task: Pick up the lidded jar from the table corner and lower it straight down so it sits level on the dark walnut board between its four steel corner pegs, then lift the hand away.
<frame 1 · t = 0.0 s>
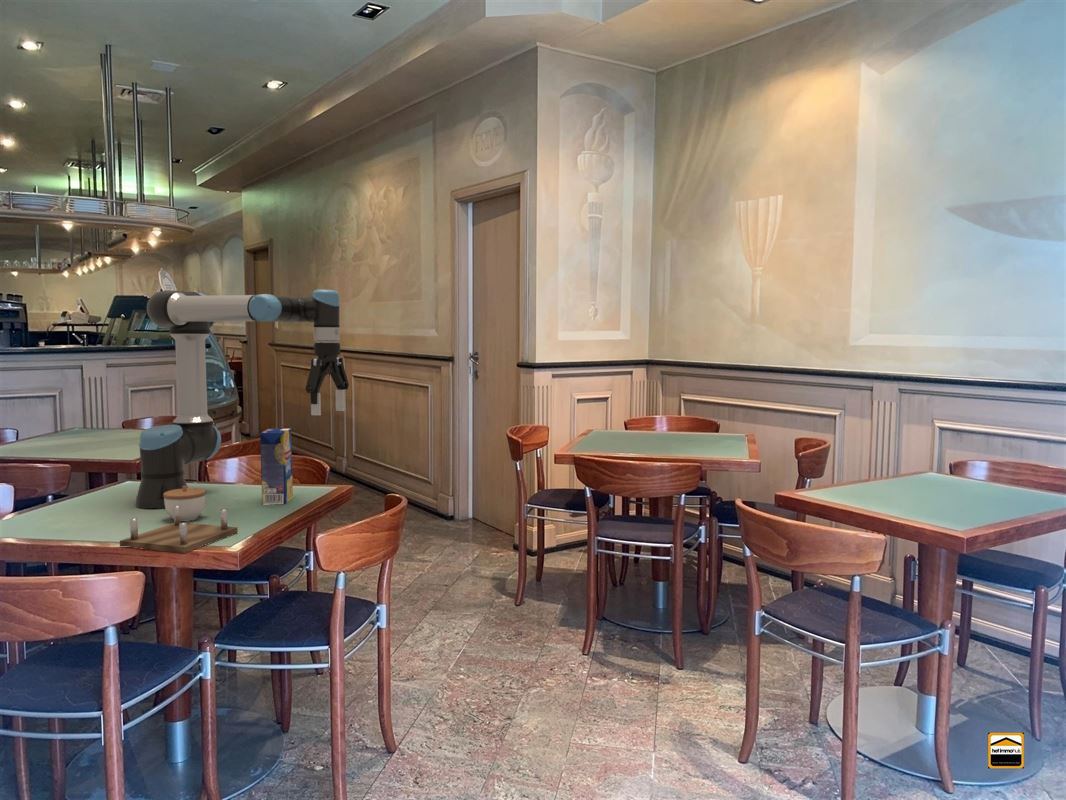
hand: (328, 413, 226), 28 cm above the table, tool pointing down, fingers open, 13 cm apart
corner pegs: (180, 524, 188), on the peg board, point 4 cm above the table
lidded jar: (185, 519, 210), on the table
peg board: (180, 539, 189), on the table
beverage box: (277, 501, 233), on the table
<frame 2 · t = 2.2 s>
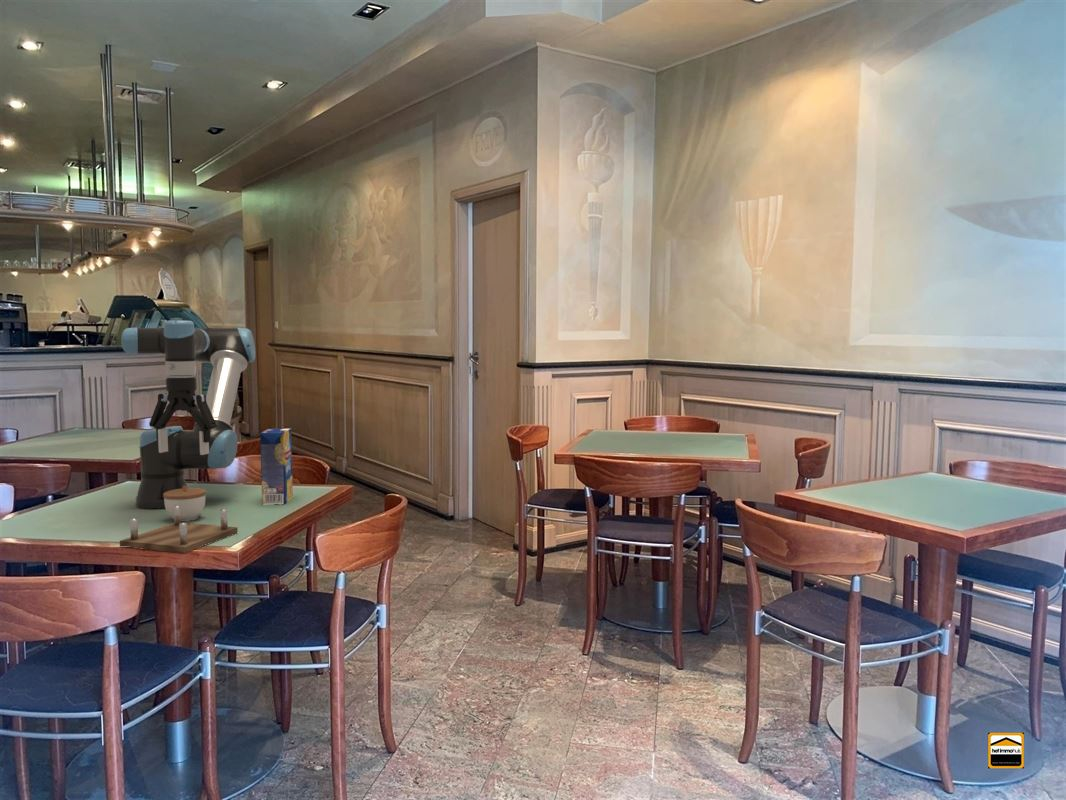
hand: (183, 453, 208), 19 cm above the table, tool pointing down, fingers open, 13 cm apart
nothing on the table moved.
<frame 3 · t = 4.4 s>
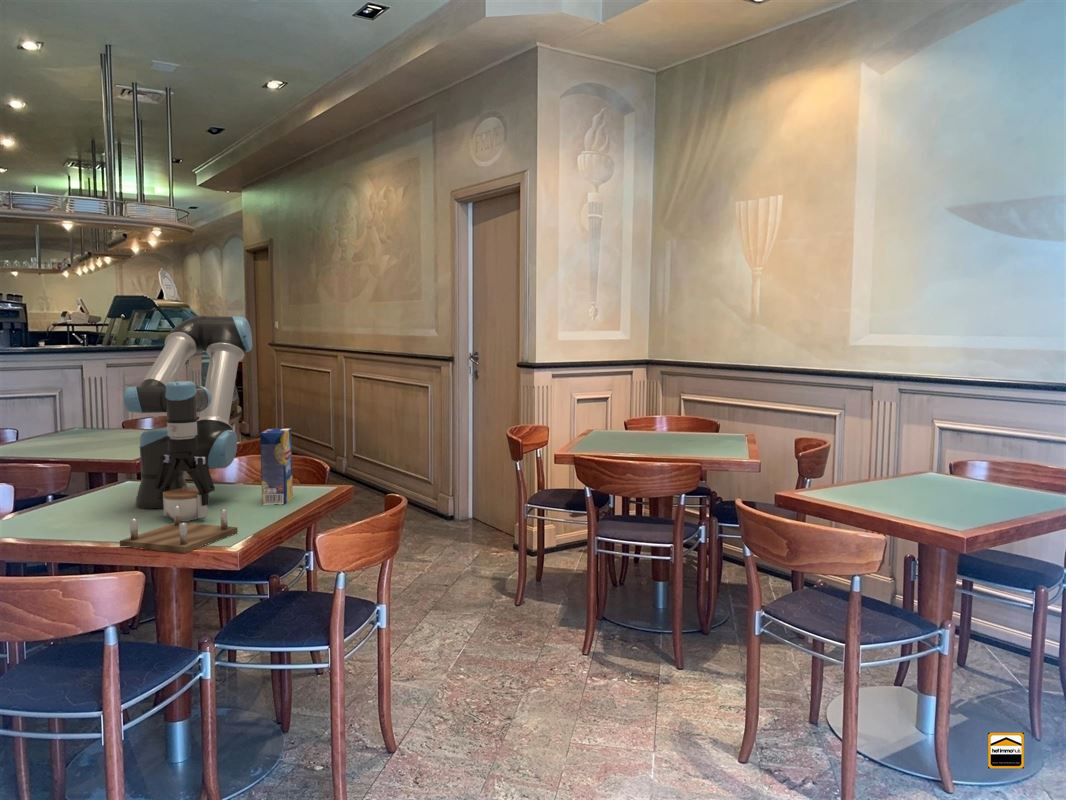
hand: (185, 515, 210), 1 cm above the table, tool pointing down, fingers closed on lidded jar, 11 cm apart
lidded jar: (185, 519, 210), on the table, touching gripper
everything else where it was.
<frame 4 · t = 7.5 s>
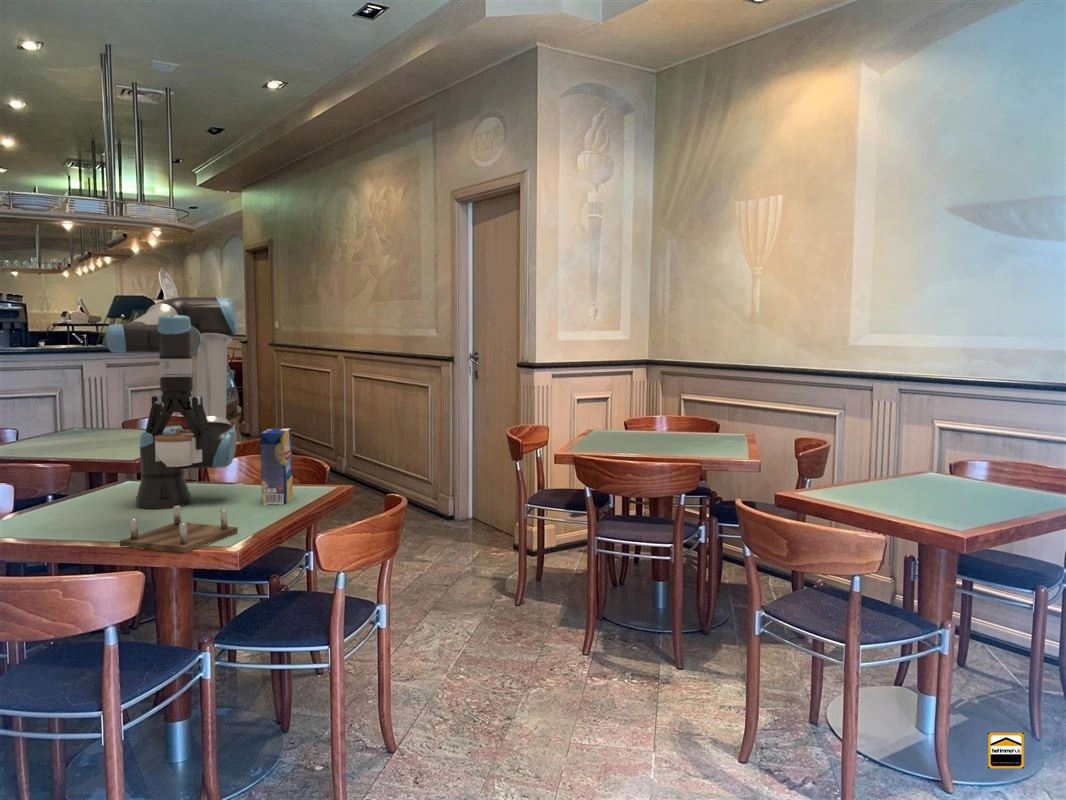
hand: (178, 461, 193), 19 cm above the table, tool pointing down, fingers closed on lidded jar, 11 cm apart
lidded jar: (179, 466, 193), point 18 cm above the table, touching gripper
everything else where it was.
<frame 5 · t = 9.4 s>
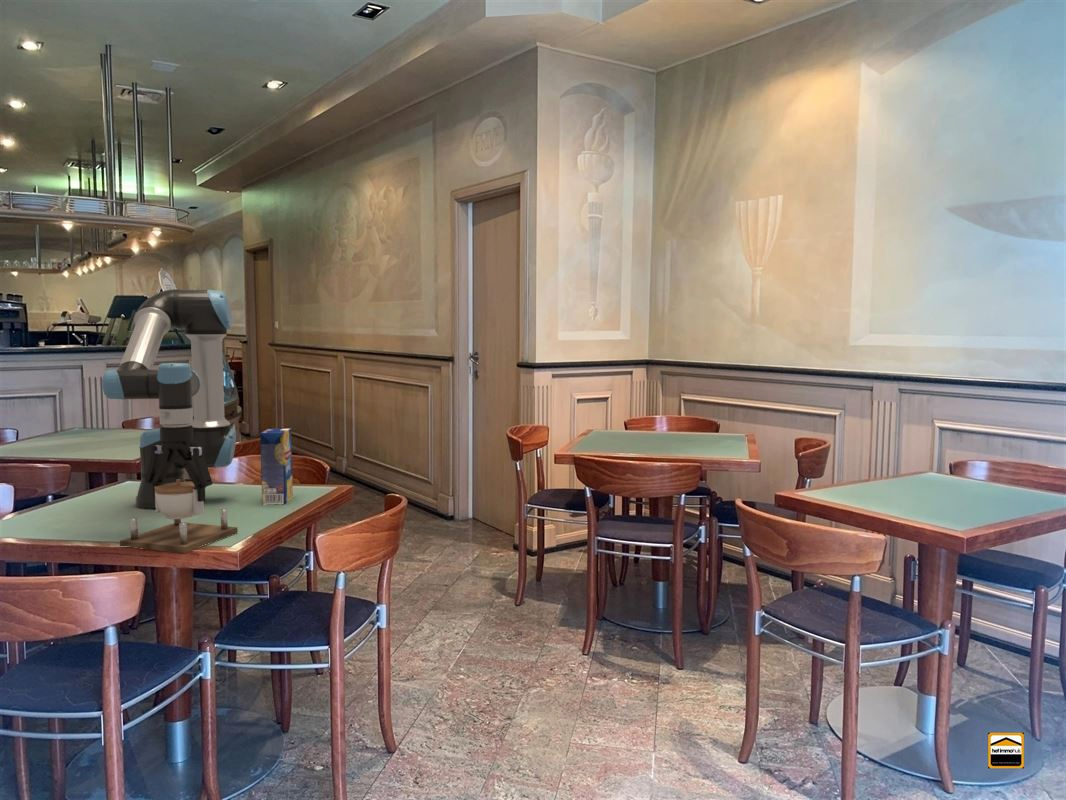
hand: (179, 512, 188), 7 cm above the table, tool pointing down, fingers closed on lidded jar, 11 cm apart
lidded jar: (179, 517, 188), point 6 cm above the table, touching gripper
everything else where it was.
when the fingers open (3 cm above the table, at t = 11.0 s): lidded jar stays where it is, resting on peg board.
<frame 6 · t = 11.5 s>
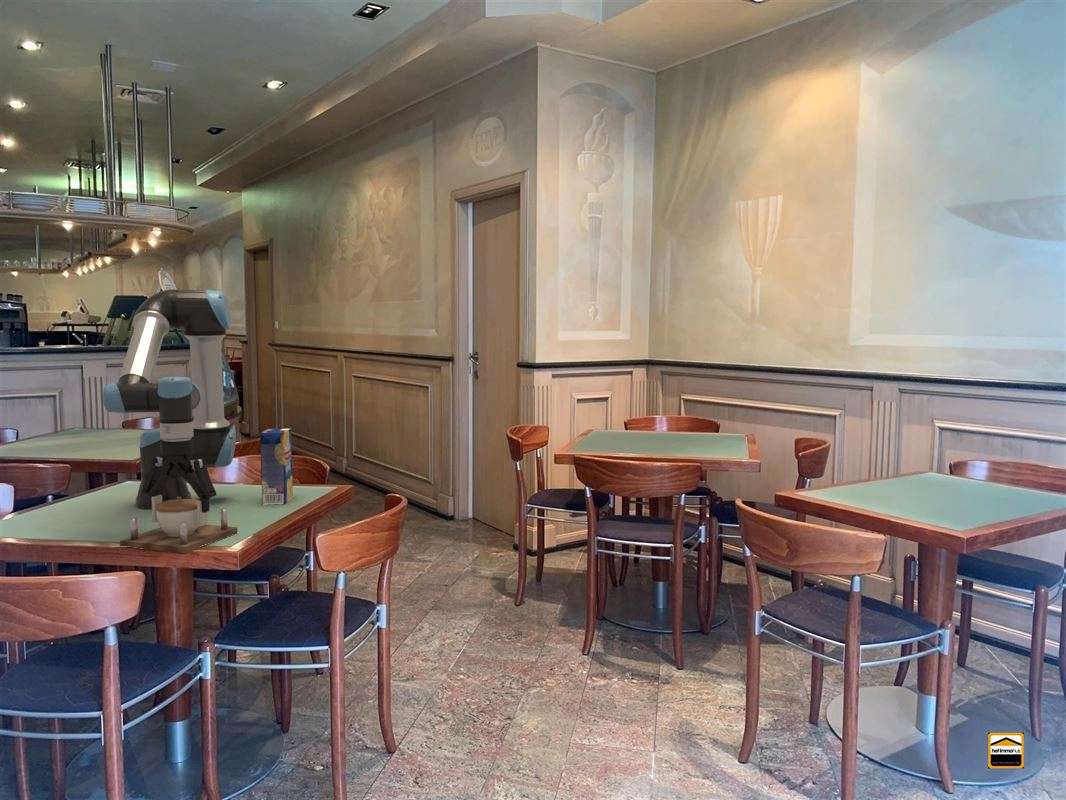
hand: (180, 523, 188), 4 cm above the table, tool pointing down, fingers open, 13 cm apart
lidded jar: (180, 534, 189), point 1 cm above the table, touching peg board
everything else where it was.
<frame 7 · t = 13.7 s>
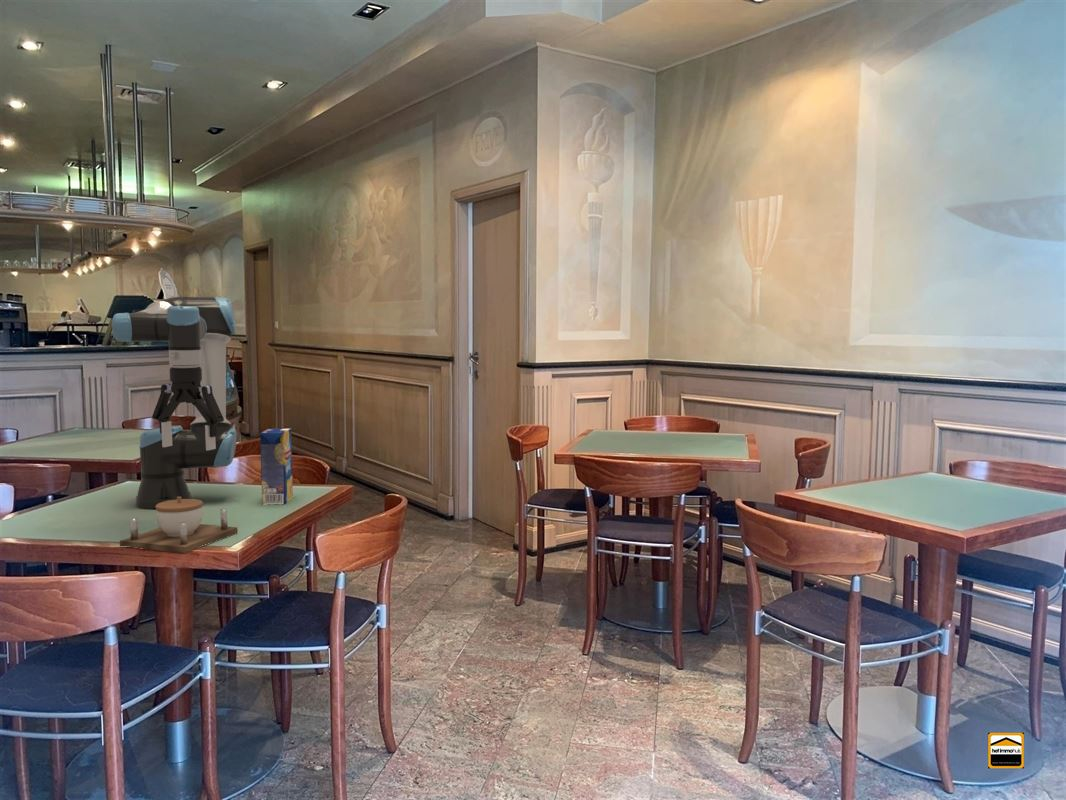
hand: (188, 448, 195), 22 cm above the table, tool pointing down, fingers open, 13 cm apart
nothing on the table moved.
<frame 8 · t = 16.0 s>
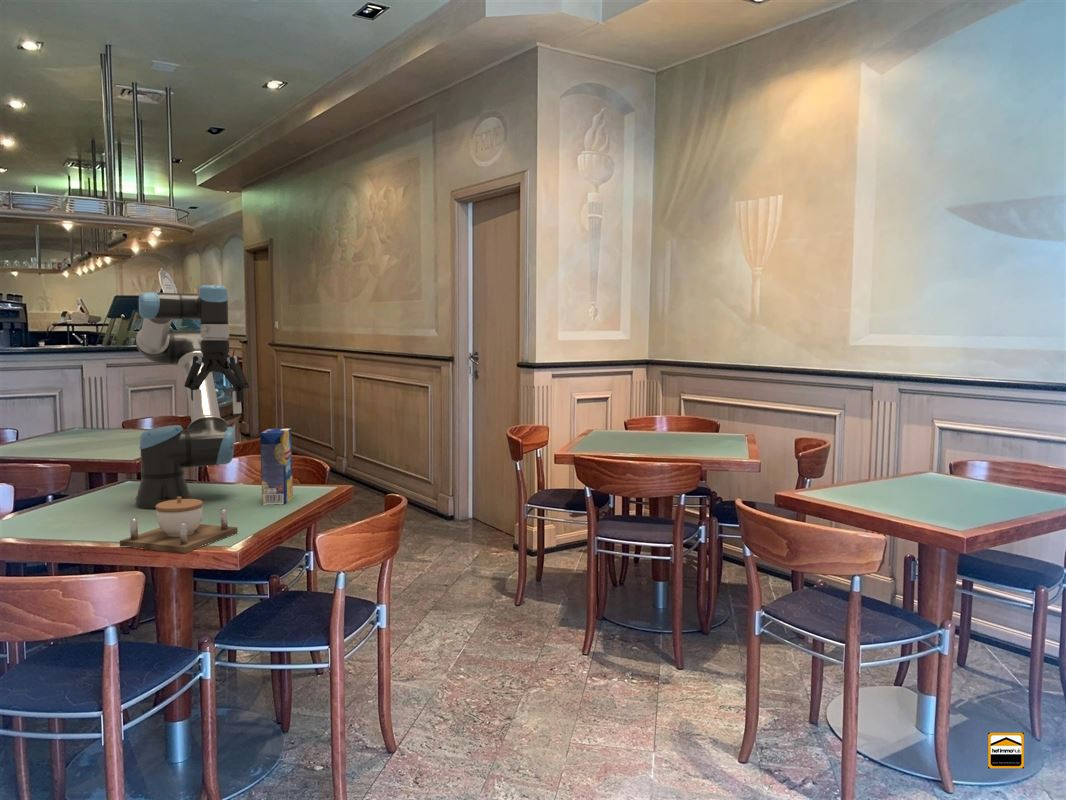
hand: (217, 412, 218), 29 cm above the table, tool pointing down, fingers open, 13 cm apart
nothing on the table moved.
at the end: lidded jar 0.1 cm off-centre on the peg board, point 1.3 cm above the peg board's base; lidded jar tilted 0°; the gripper is holding nothing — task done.
